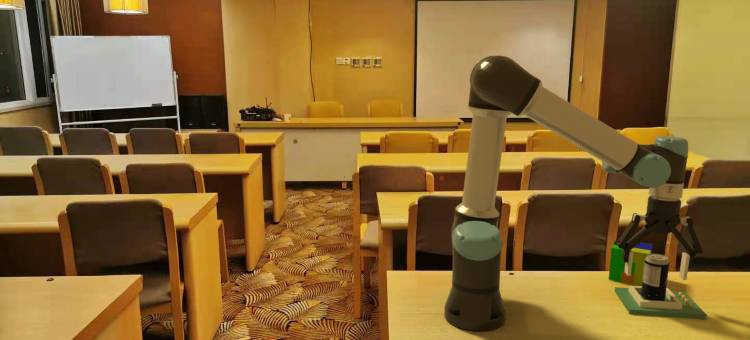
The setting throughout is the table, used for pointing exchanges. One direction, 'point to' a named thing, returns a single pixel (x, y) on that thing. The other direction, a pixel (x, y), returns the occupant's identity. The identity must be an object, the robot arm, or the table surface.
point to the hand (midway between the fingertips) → (654, 276)
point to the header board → (659, 304)
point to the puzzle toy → (638, 262)
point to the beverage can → (655, 277)
